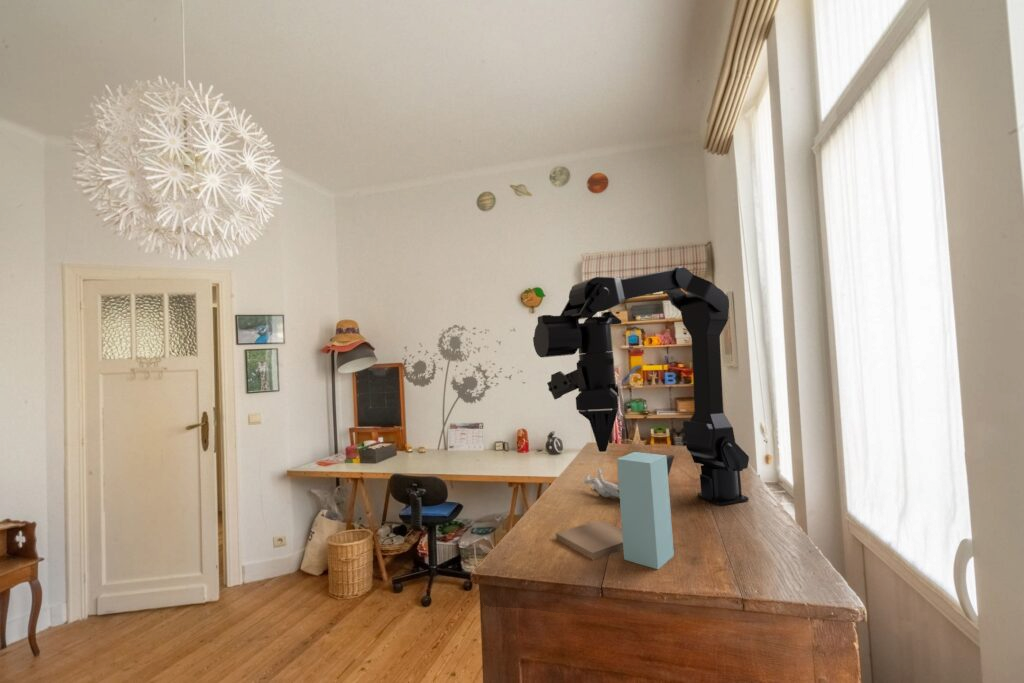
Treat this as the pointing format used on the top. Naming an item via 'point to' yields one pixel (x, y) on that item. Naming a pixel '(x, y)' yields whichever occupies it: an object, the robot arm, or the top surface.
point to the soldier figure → (603, 486)
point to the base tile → (593, 539)
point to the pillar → (645, 509)
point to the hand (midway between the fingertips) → (603, 445)
